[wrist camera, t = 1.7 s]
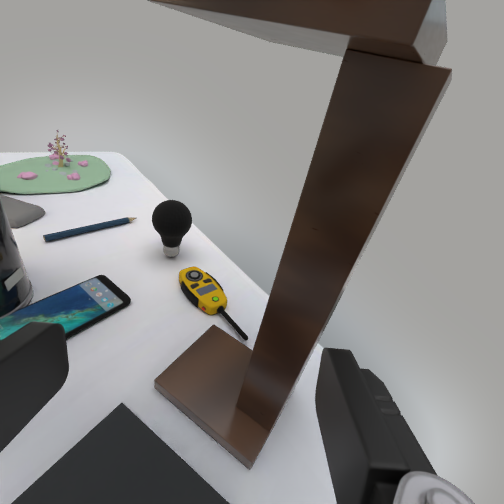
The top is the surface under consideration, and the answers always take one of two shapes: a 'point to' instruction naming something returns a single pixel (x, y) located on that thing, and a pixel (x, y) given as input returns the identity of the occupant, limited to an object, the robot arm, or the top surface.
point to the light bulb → (171, 224)
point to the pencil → (86, 229)
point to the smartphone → (70, 307)
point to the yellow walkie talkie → (206, 294)
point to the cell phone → (20, 211)
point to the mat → (120, 470)
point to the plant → (53, 173)
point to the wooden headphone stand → (317, 196)
